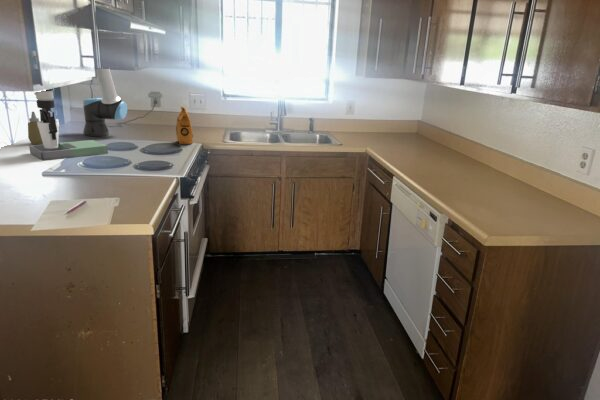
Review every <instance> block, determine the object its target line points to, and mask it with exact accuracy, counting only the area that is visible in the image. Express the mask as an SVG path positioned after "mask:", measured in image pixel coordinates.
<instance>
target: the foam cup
mask: <svg viewBox="0 0 600 400" xmlns="http://www.w3.org/2000/svg"><path fill="white" fill-rule="evenodd" d="M55 122H56V127H57V132H56V138H57V146H51V141H50V134H49V132H50V130H49V124H50V123H43V121H41V120H39V121H38V122H37V125H38V128H39V131H40V135H41V138H42V142H43V144H42V145H44V148H48V149H52V148H58V143H59V131H60V130H59V127H60V123H59V121H58V120H55Z"/></svg>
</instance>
